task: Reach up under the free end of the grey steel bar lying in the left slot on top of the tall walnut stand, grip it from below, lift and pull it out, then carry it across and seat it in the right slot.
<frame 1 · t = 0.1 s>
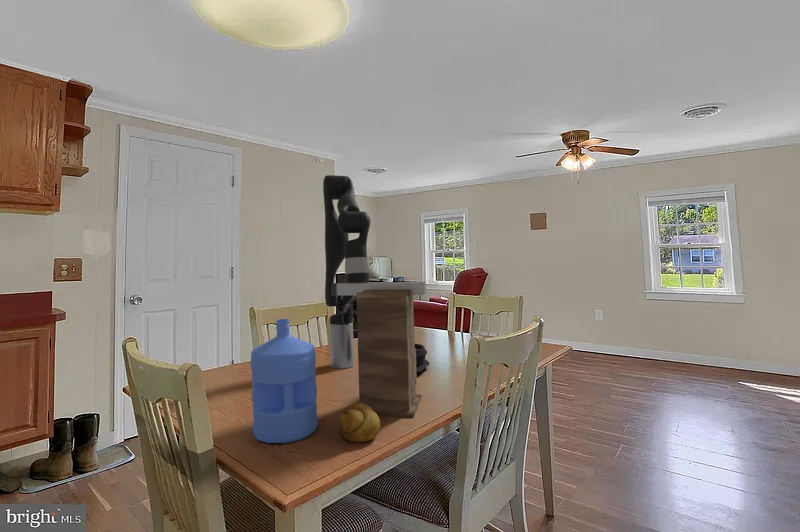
hand: (359, 323, 126), 22 cm above the table, tool pointing down, fingers open, 8 cm apart
stand: (388, 405, 116), on the table
steel bar: (378, 294, 119), point 32 cm above the table, touching stand
sauce bottle: (407, 384, 135), on the table
casserole: (405, 369, 155), on the table
water jug: (286, 431, 100), on the table
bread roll: (359, 434, 98), on the table
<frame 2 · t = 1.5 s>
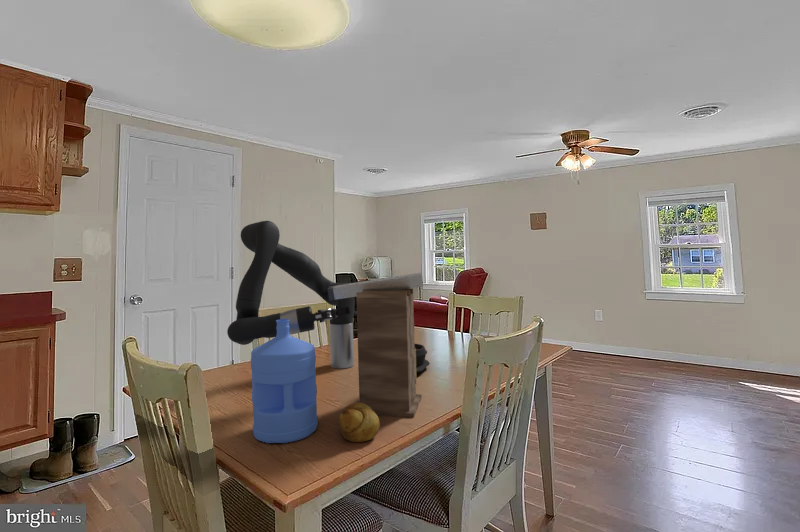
hand: (349, 310, 127), 27 cm above the table, tool horizontal, fingers open, 8 cm apart
steel bar: (376, 292, 119), point 33 cm above the table, tilted 11°, touching stand
everything else where it was.
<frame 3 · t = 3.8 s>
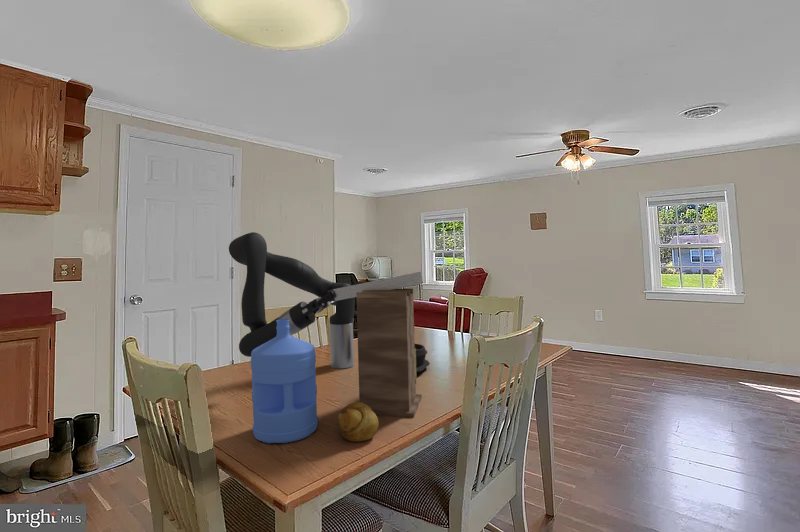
hand: (338, 292, 121), 33 cm above the table, tool pointing upward, fingers open, 8 cm apart
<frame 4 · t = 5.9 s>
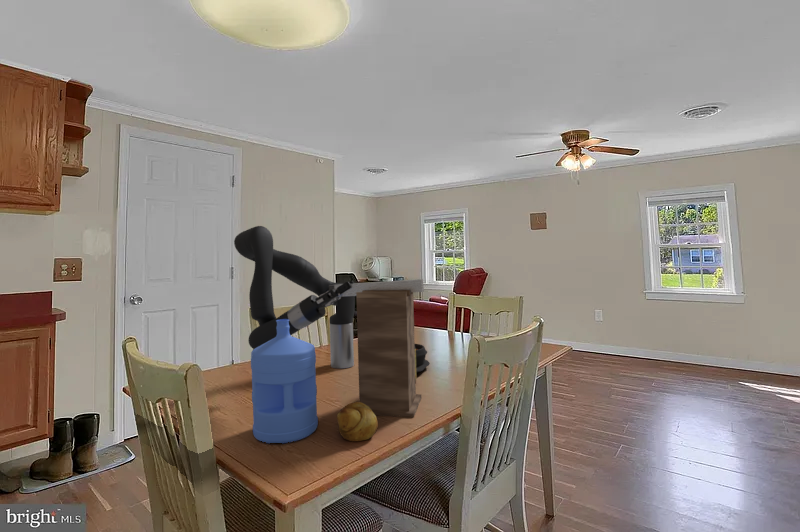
hand: (351, 283, 120), 35 cm above the table, tool pointing upward, fingers closed on steel bar, 3 cm apart
steel bar: (376, 294, 119), point 32 cm above the table, touching gripper, stand
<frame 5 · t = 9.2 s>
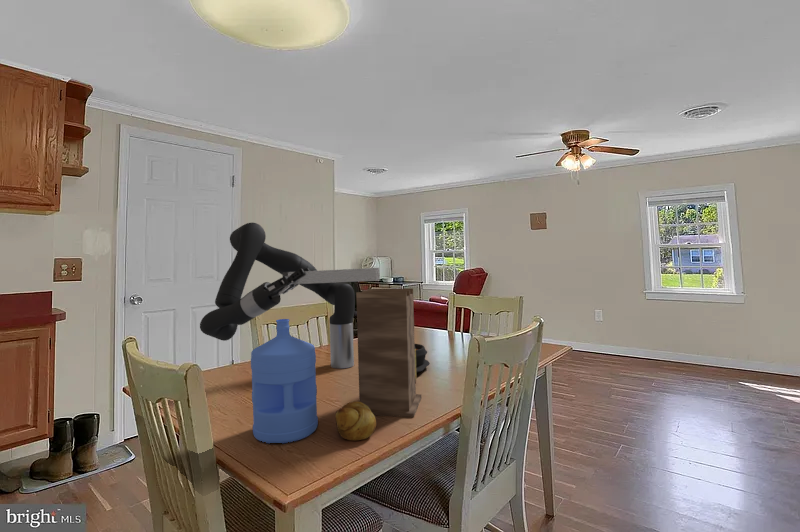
hand: (306, 271, 117), 40 cm above the table, tool pointing upward, fingers closed on steel bar, 3 cm apart
steel bar: (331, 282, 115), point 36 cm above the table, touching gripper
when the fingers open (36 cm above the table, at t = 12.6 s): steel bar stays where it is, resting on stand.
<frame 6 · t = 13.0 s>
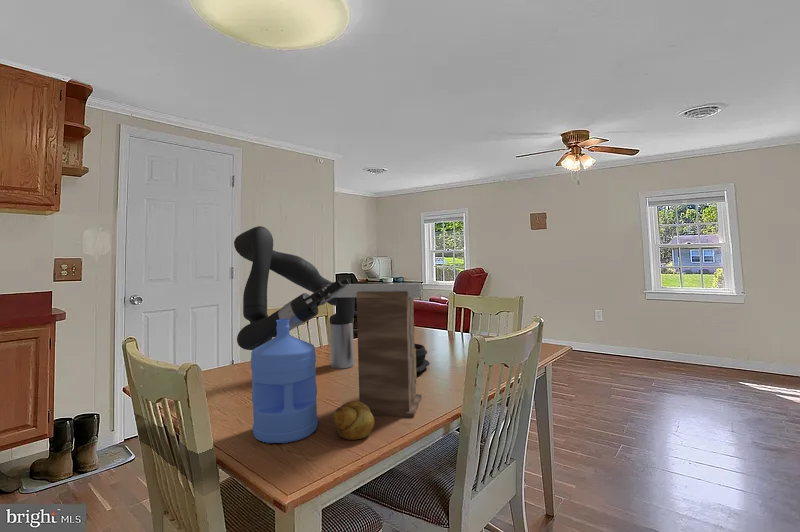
hand: (344, 282, 114), 36 cm above the table, tool pointing upward, fingers open, 6 cm apart
steel bar: (371, 296, 113), point 32 cm above the table, touching stand
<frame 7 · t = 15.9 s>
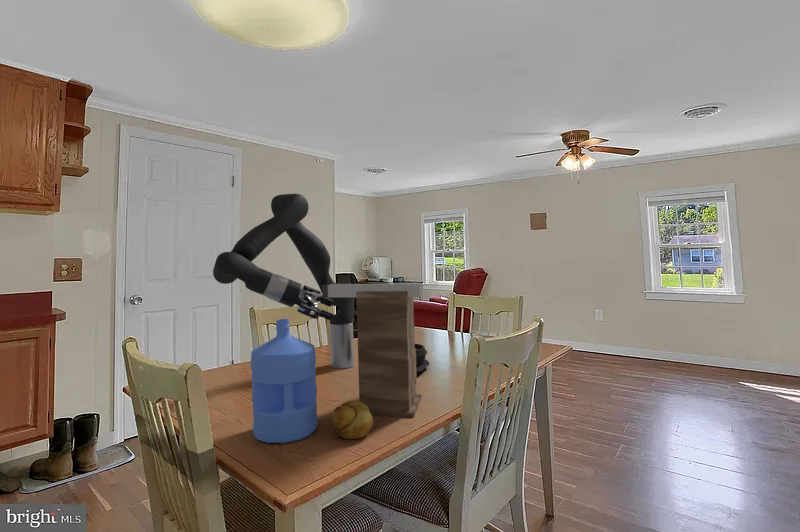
hand: (332, 310, 124), 27 cm above the table, tool tilted 65°, fingers open, 8 cm apart
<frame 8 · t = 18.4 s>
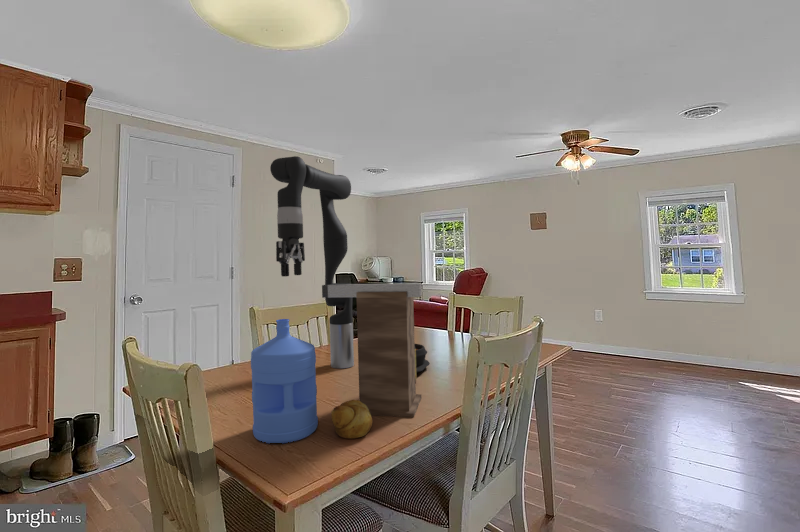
hand: (291, 275, 123), 38 cm above the table, tool pointing down, fingers open, 8 cm apart
at the end: steel bar inside the target area on the stand (0.5 cm from its centre), point 32.0 cm above the stand's base; the gripper is holding nothing; steel bar moved 5.9 cm from its start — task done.
